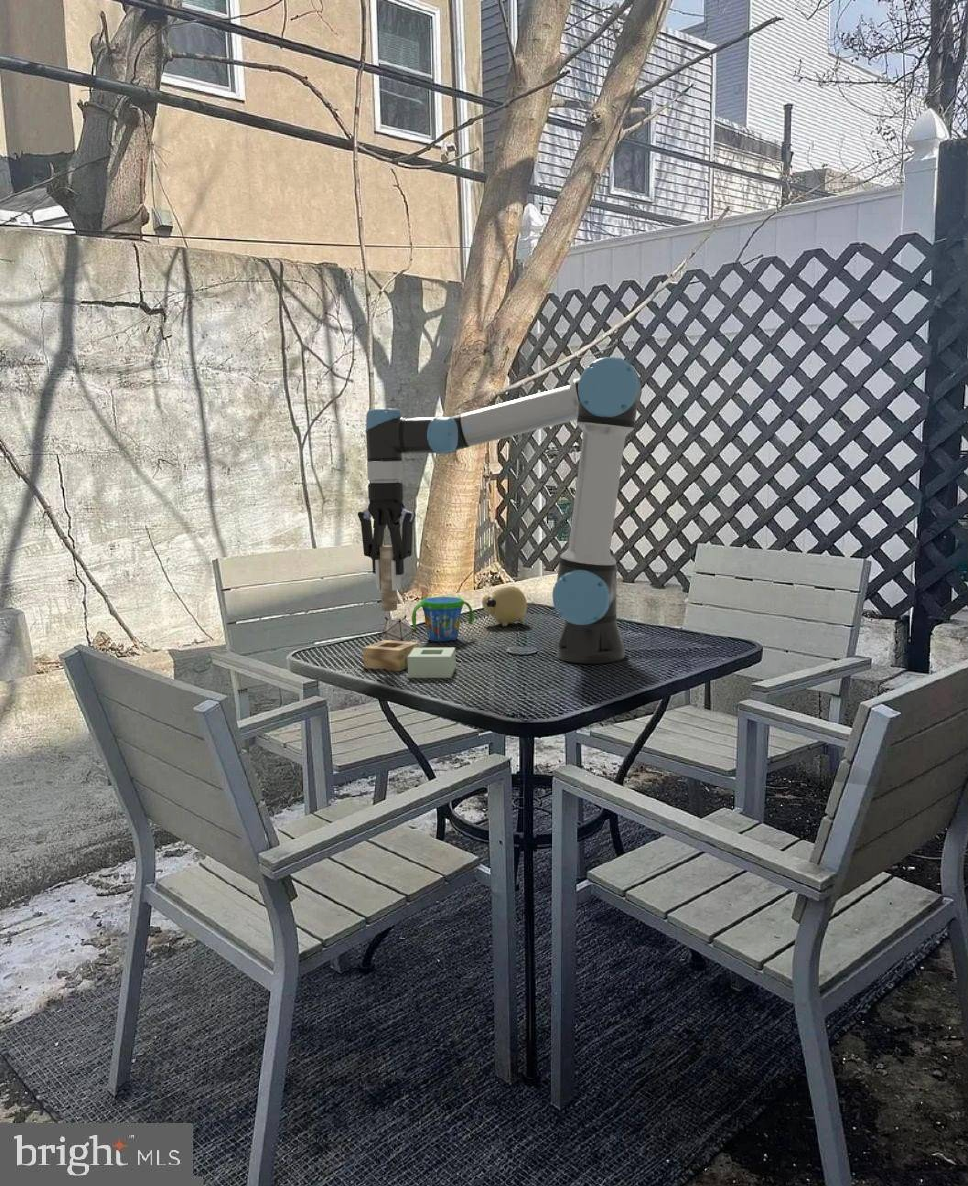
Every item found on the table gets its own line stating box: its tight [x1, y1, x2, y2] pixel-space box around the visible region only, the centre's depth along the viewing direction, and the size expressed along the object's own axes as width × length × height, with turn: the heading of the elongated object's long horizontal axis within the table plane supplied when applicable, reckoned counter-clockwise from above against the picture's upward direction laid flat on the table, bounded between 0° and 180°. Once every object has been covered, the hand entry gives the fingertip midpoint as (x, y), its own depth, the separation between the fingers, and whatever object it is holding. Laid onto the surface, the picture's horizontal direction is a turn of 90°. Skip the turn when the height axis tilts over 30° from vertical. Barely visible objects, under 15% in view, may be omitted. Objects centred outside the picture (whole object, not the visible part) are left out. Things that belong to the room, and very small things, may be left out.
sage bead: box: [407, 647, 457, 679], centre depth 197 cm, size 9×9×4 cm
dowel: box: [380, 545, 398, 612], centre depth 203 cm, size 3×3×14 cm
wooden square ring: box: [362, 639, 420, 672], centre depth 205 cm, size 9×9×4 cm
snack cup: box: [411, 596, 474, 643], centre depth 231 cm, size 16×10×10 cm
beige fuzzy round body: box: [481, 585, 528, 627], centre depth 249 cm, size 10×12×11 cm
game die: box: [378, 614, 418, 642], centre depth 221 cm, size 9×8×10 cm
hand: (388, 588), depth 203 cm, fingers closed on dowel, 3 cm apart
